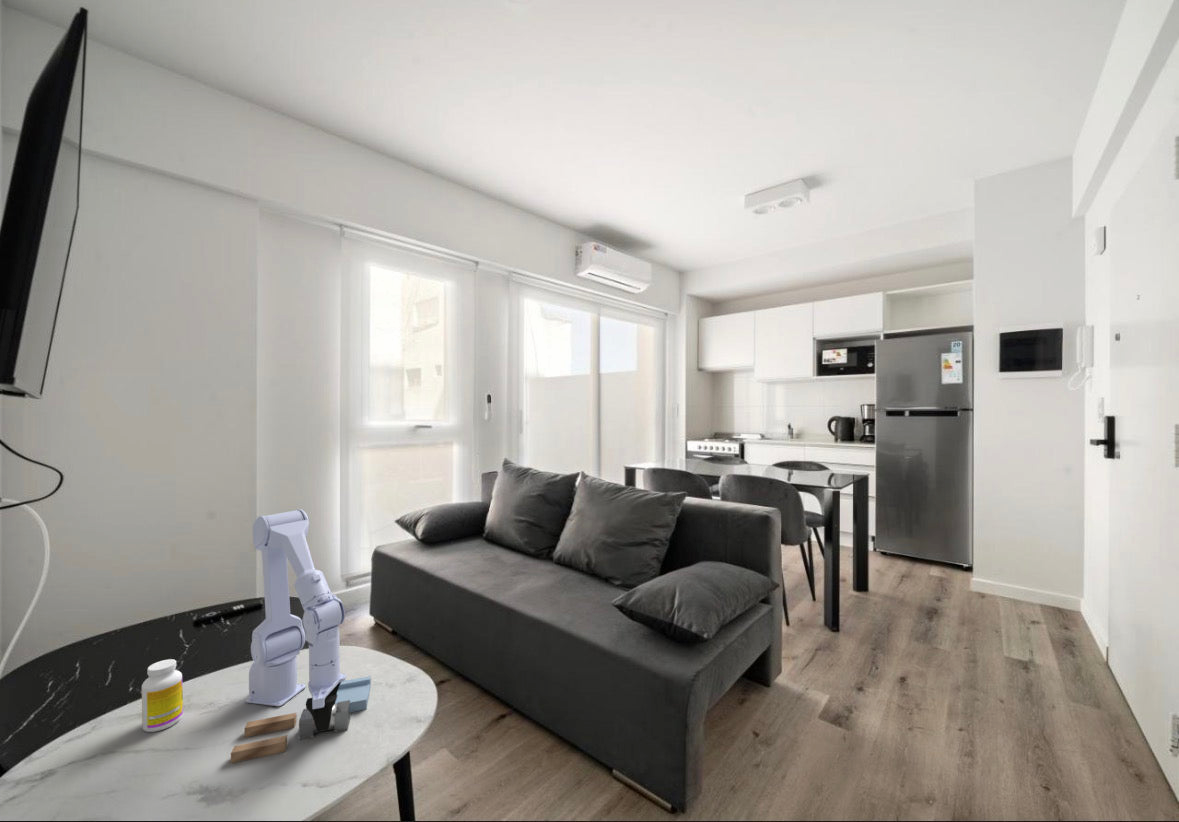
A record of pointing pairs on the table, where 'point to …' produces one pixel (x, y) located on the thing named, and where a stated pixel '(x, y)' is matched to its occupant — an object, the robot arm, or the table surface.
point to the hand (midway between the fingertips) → (325, 722)
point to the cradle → (355, 693)
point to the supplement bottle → (162, 696)
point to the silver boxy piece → (338, 721)
